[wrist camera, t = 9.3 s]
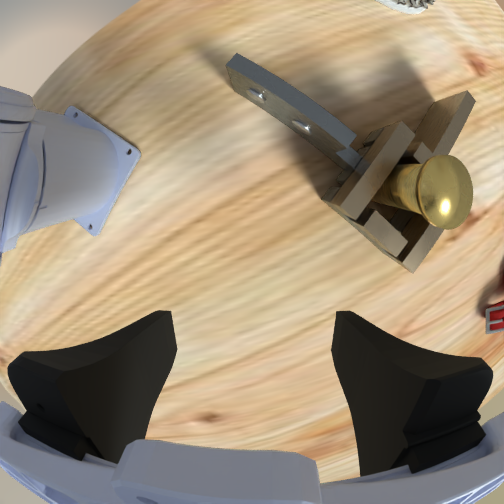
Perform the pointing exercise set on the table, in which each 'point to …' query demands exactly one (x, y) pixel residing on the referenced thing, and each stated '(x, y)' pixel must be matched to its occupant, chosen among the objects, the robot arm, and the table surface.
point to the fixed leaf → (307, 126)
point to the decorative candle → (407, 5)
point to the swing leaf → (406, 152)
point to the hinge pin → (430, 190)
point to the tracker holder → (495, 318)
